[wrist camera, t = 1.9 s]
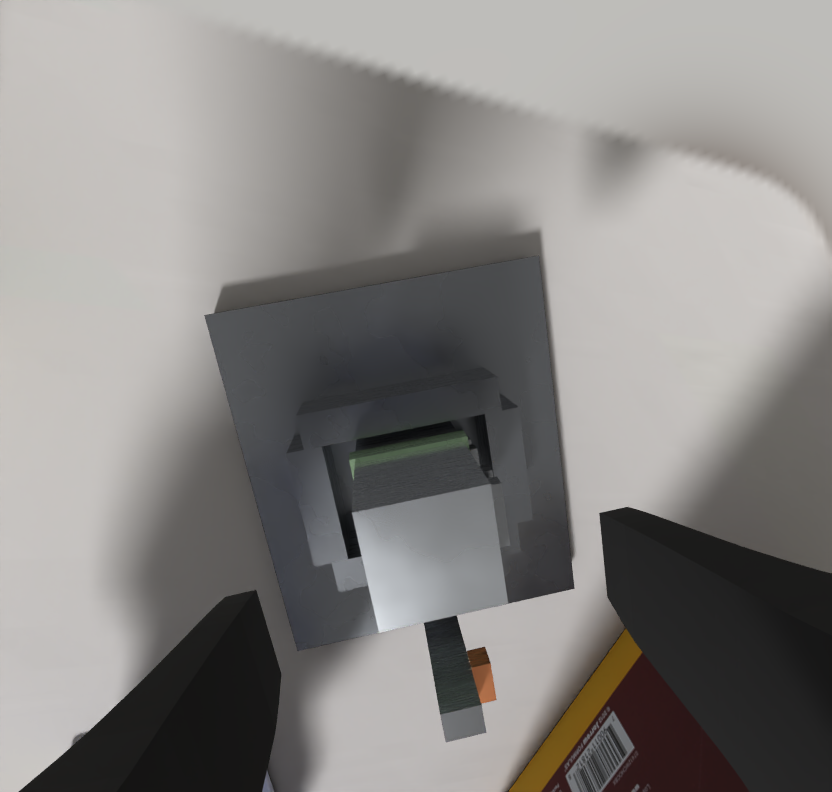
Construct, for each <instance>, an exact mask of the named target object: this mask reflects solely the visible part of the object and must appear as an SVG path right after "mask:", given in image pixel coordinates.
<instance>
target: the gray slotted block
mask: <svg viewBox="0 0 832 792" xmlns="http://www.w3.org/2000/svg"><path fill="white" fill-rule="evenodd" d="M349 463H350V467H351V472H352V476H353V481H354V485H353V503H352V515H353V520H354V524H355V529H356V533H357V537H358V542H359V546H360V551H361V555H362V560H363V564H364V568H365V573H366V577H367V582H368V586H369V591H370V595H371V599H372V604H373V608H374V613H375V617H376V622H377V626H378V630H379V633H380V632H385V631H389V630H394V629H398V628H402V627H407V626H411V625H416V624H420V623H425V622H429V621H433V620H438V619H442V618H447V617H451V616H456V615H460V614H464V613H469V612H473V611H478V610H482V609H487V608H491V607H496V606H500V605H504V604H508V599H507V592H506V585H505V578H504V571H503V564H502V558H501V551H500V548H501V547H505V546H510V540H509V533H508V526H507V518H506V511H505V504H504V497H503V490H502V483H501V482H500V480H499V479H498V477H497V476H496V477H493V471H492V469H491V467H490V466H489V465H488V464H486V465H482V466H480V464H479V457H478V451H477V448H476V446H475V445H474V444H471V439H470V438H469V436H468V435H466V434H465V432H464V431H463V430H460V431H456V429H455V428H454V426H453V425H452V423H451V421H447V422H442V423H437V424H432V425H427V426H422V427H417V428H412V429H407V430H402V431H397V432H392V433H387V434H382V435H377V436H372V437H367V438H362V439H356V449H355V452H350V454H349Z"/></svg>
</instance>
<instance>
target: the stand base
mask: <svg viewBox="0 0 832 792" xmlns="http://www.w3.org/2000/svg"><path fill="white" fill-rule="evenodd" d="M204 316H205V319H206V323H207V326H208V330H209V334H210V337H211V341H212V344H213V348H214V352H215V355H216V359H217V362H218V366H219V370H220V373H221V377H222V380H223V384H224V388H225V391H226V395H227V398H228V402H229V406H230V409H231V413H232V416H233V420H234V424H235V427H236V431H237V434H238V438H239V442H240V445H241V449H242V452H243V456H244V460H245V463H246V467H247V470H248V474H249V478H250V481H251V485H252V488H253V492H254V496H255V499H256V503H257V506H258V510H259V514H260V517H261V521H262V524H263V528H264V532H265V535H266V539H267V542H268V546H269V550H270V553H271V557H272V560H273V564H274V568H275V571H276V575H277V579H278V582H279V586H280V589H281V593H282V597H283V600H284V604H285V607H286V611H287V615H288V618H289V622H290V625H291V629H292V633H293V636H294V640H295V643H296V647H297V651H300V650H304V649H309V648H313V647H317V646H322V645H326V644H331V643H335V642H340V641H344V640H348V639H353V638H357V637H362V636H366V635H371V634H375V633H379V630H378V626H377V622H376V617H375V613H374V608H373V604H372V599H371V595H370V591H369V586H368V582H367V577H366V573H365V568H364V564H363V560H362V555H361V551H360V546H359V542H358V537H357V533H356V529H355V524H354V520H353V515H352V503H353V485H354V481H353V476H352V472H351V467H350V463H349V454H350V452H355V449H356V439H362V438H367V437H372V436H377V435H382V434H387V433H392V432H397V431H402V430H407V429H412V428H417V427H422V426H427V425H432V424H437V423H442V422H447V421H451V423H452V425H453V426H454V428H455V429H456V431H460V430H463V431H464V432H465V434H466V435H468V436H469V438H470V439H471V444H474V445H475V446H476V448H477V451H478V457H479V464H480V466H482V465H486V464H488V465H489V466H490V467H491V469H492V471H493V477H496V476H497V477H498V479H499V480H500V482H501V483H502V490H503V497H504V504H505V511H506V518H507V526H508V533H509V540H510V546H505V547H501V548H500V551H501V558H502V564H503V571H504V578H505V585H506V592H507V599H508V603H512V602H517V601H521V600H526V599H530V598H535V597H539V596H543V595H548V594H552V593H557V592H561V591H566V590H570V589H574V580H573V571H572V562H571V552H570V543H569V534H568V524H567V515H566V505H565V496H564V487H563V477H562V468H561V458H560V449H559V440H558V430H557V421H556V412H555V402H554V393H553V383H552V374H551V365H550V355H549V346H548V337H547V327H546V318H545V308H544V299H543V290H542V280H541V271H540V261H539V256H533V257H528V258H522V259H517V260H511V261H505V262H500V263H494V264H489V265H483V266H477V267H472V268H466V269H461V270H455V271H449V272H444V273H438V274H433V275H427V276H421V277H416V278H410V279H405V280H399V281H393V282H388V283H382V284H377V285H371V286H365V287H360V288H354V289H349V290H343V291H337V292H332V293H326V294H321V295H315V296H309V297H304V298H298V299H292V300H287V301H281V302H276V303H270V304H264V305H259V306H253V307H248V308H242V309H236V310H231V311H225V312H220V313H214V314H208V315H204ZM424 625H425V631H426V637H427V642H428V648H429V654H430V659H431V665H432V670H433V676H434V682H435V687H436V693H437V699H438V704H439V710H440V715H441V720H442V725H443V730H444V735H445V740H446V742H449V741H453V740H457V739H462V738H466V737H470V736H474V735H478V734H482V733H486V729H485V723H484V717H483V711H482V705H481V703H486V702H490V701H494V700H496V694H495V688H494V682H493V676H492V670H491V664H490V661H489V658H488V655H487V652H486V649H485V647H482V648H478V649H473V650H469V651H467V652H466V648H465V645H464V641H463V637H462V634H461V630H460V627H459V623H458V620H457V616H451V617H447V618H442V619H438V620H433V621H429V622H425V623H424Z"/></svg>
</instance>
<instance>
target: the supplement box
mask: <svg viewBox="0 0 832 792" xmlns="http://www.w3.org/2000/svg"><path fill="white" fill-rule="evenodd" d="M508 792H749V790H748V789H747V787H746V786H745V784H744V783H743V781H742V780H741V778H740V777H739V776H738V774H737V773H736V772H735V770H734V769H733V767H732V766H731V765H730V763H729V762H728V761H727V759H726V758H725V757H724V755H723V754H722V753H721V751H720V750H719V749H718V747H717V746H716V745H715V744H714V742H713V741H712V740H711V738H710V737H709V736H708V735H707V733H706V732H705V731H704V730H703V728H702V727H701V726H700V725H699V723H698V722H697V721H696V719H695V718H694V717H693V716H692V714H691V713H690V712H689V711H688V709H687V708H686V707H685V706H684V704H683V703H682V702H681V701H680V699H679V698H678V697H677V695H676V694H675V693H674V692H673V690H672V689H671V688H670V687H669V685H668V684H667V683H666V682H665V680H664V679H663V678H662V677H661V675H660V674H659V673H658V671H657V670H656V669H655V668H654V666H653V665H652V664H651V662H650V661H649V660H648V659H647V657H646V656H645V655H644V653H643V652H642V651H641V649H640V648H639V647H638V646H637V644H636V643H635V642H634V640H633V638H632V637H631V635H630V634H629V632H628V630H627V629H625V630H624V632H623V633H622V634H621V636H620V637H619V639H618V640H617V641H616V643H615V644H614V646H613V647H612V648H611V650H610V651H609V652H608V654H607V655H606V657H605V658H604V659H603V661H602V662H601V664H600V665H599V666H598V668H597V669H596V671H595V672H594V673H593V675H592V676H591V678H590V679H589V680H588V682H587V683H586V684H585V686H584V687H583V689H582V690H581V691H580V693H579V694H578V696H577V697H576V698H575V700H574V701H573V703H572V704H571V705H570V707H569V708H568V709H567V711H566V712H565V714H564V715H563V716H562V718H561V719H560V721H559V722H558V723H557V725H556V726H555V728H554V729H553V730H552V732H551V733H550V734H549V736H548V737H547V739H546V740H545V741H544V743H543V744H542V746H541V747H540V748H539V750H538V751H537V753H536V754H535V755H534V757H533V758H532V760H531V761H530V762H529V764H528V765H527V766H526V768H525V769H524V771H523V772H522V773H521V775H520V776H519V778H518V779H517V780H516V782H515V783H514V785H513V786H512V787H511V789H510V790H509V791H508Z"/></svg>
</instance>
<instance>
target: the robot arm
mask: <svg viewBox="0 0 832 792" xmlns="http://www.w3.org/2000/svg"><path fill="white" fill-rule="evenodd" d="M599 514H600V524H601V534H602V545H603V555H604V565H605V576H606V586H607V596H608V599H609V600H610V602H611V604H612V606H613V607H614V609H615V611H616V612H617V614H618V616H619V617H620V619H621V621H622V622H623V624H624V626H625V627H626V629H627V630H628V632H629V634H630V635H631V637H632V638H633V640H634V642H635V643H636V644H637V646H638V647H639V648H640V649H641V651H642V652H643V653H644V655H645V656H646V657H647V659H648V660H649V661H650V662H651V664H652V665H653V666H654V668H655V669H656V670H657V671H658V673H659V674H660V675H661V677H662V678H663V679H664V680H665V682H666V683H667V684H668V685H669V687H670V688H671V689H672V690H673V692H674V693H675V694H676V695H677V697H678V698H679V699H680V701H681V702H682V703H683V704H684V706H685V707H686V708H687V709H688V711H689V712H690V713H691V714H692V716H693V717H694V718H695V719H696V721H697V722H698V723H699V725H700V726H701V727H702V728H703V730H704V731H705V732H706V733H707V735H708V736H709V737H710V738H711V740H712V741H713V742H714V744H715V745H716V746H717V747H718V749H719V750H720V751H721V753H722V754H723V755H724V757H725V758H726V759H727V761H728V762H729V763H730V765H731V766H732V767H733V769H734V770H735V772H736V773H737V774H738V776H739V777H740V778H741V780H742V781H743V783H744V784H745V786H746V787H747V789H748V790H749V792H832V574H831V573H827V572H823V571H820V570H816V569H813V568H809V567H805V566H802V565H799V564H795V563H792V562H789V561H786V560H782V559H779V558H776V557H773V556H770V555H766V554H763V553H760V552H757V551H754V550H751V549H748V548H745V547H742V546H739V545H736V544H733V543H730V542H727V541H724V540H721V539H719V538H716V537H713V536H710V535H707V534H705V533H702V532H699V531H696V530H694V529H691V528H688V527H685V526H683V525H680V524H677V523H674V522H672V521H669V520H666V519H663V518H661V517H658V516H655V515H652V514H649V513H646V512H643V511H640V510H637V509H633V508H629V507H625V508H621V509H616V510H612V511H607V512H603V513H599ZM280 683H281V672H280V668H279V665H278V662H277V658H276V655H275V652H274V648H273V645H272V641H271V638H270V635H269V631H268V628H267V625H266V621H265V618H264V615H263V611H262V608H261V605H260V601H259V598H258V594H257V591H256V590H254V591H250V592H245V593H241V594H236V595H232V596H227V597H225V598H224V599H223V600H222V601H221V602H219V603H218V604H217V605H216V606H215V607H214V608H213V609H212V610H211V611H210V612H209V613H208V614H207V615H206V616H205V617H204V618H203V619H202V620H201V621H200V622H199V623H198V624H197V625H196V626H195V627H194V628H193V629H192V630H191V631H190V632H189V634H188V635H187V636H186V637H185V638H184V639H183V640H182V641H181V642H180V643H179V644H178V645H177V646H176V647H175V648H174V649H173V650H172V651H171V652H170V653H169V654H168V655H167V656H166V657H165V658H164V659H163V660H162V661H161V662H160V663H159V664H158V665H157V666H156V667H155V668H154V669H153V670H152V671H151V672H150V673H149V674H148V675H147V676H146V677H145V678H144V679H143V680H142V681H141V682H140V683H139V684H138V685H137V686H136V687H135V688H134V689H133V690H132V691H131V692H130V693H129V694H128V695H127V696H126V697H125V698H123V699H122V700H121V701H120V702H119V703H118V704H117V705H116V706H115V707H114V708H113V709H112V710H111V711H110V712H109V713H108V714H107V715H106V716H105V717H104V718H103V719H102V720H100V721H99V722H98V723H97V724H96V725H95V726H94V727H93V728H92V729H91V730H90V731H89V732H88V733H86V734H85V735H84V736H83V737H82V738H81V739H80V740H79V741H78V742H76V743H75V744H74V745H73V746H72V747H71V748H70V749H69V750H67V751H66V752H65V753H64V754H63V755H62V756H61V757H59V758H58V759H57V760H56V761H55V762H53V763H52V764H51V765H50V766H49V767H48V768H46V769H45V770H44V771H43V772H42V773H40V774H39V775H38V776H37V777H36V778H34V779H33V780H32V781H31V782H30V783H28V784H27V785H26V786H25V787H24V788H23V789H21V790H20V791H19V792H274V790H273V787H272V784H271V780H270V777H269V774H268V771H267V768H268V763H269V759H270V754H271V749H272V745H273V740H274V735H275V730H276V723H277V714H278V705H279V694H280Z"/></svg>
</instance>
